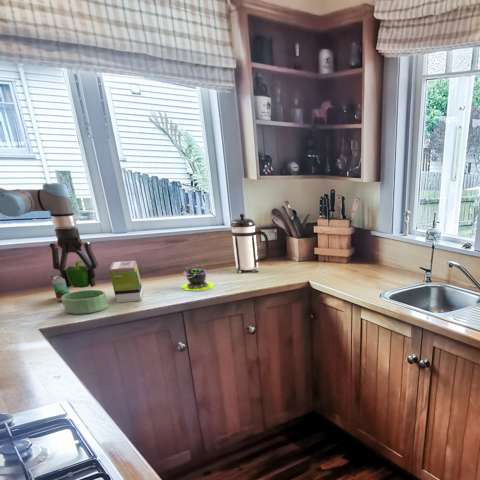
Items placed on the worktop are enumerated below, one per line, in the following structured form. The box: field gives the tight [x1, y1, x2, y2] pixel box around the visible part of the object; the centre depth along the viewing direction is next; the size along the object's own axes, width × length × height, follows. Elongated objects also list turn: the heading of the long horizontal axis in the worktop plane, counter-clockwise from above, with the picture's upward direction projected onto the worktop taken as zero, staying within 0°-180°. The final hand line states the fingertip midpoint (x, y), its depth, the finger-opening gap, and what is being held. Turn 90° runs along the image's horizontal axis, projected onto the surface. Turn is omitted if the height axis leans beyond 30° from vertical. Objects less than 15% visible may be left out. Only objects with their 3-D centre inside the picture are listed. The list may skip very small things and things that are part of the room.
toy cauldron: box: [180, 262, 215, 292], centre depth 222 cm, size 15×15×11 cm
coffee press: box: [227, 213, 270, 274], centre depth 251 cm, size 17×16×30 cm
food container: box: [50, 273, 70, 303], centre depth 201 cm, size 12×6×10 cm, turn 34°
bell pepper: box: [65, 260, 91, 289], centre depth 184 cm, size 8×8×10 cm
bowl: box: [61, 289, 109, 315], centre depth 189 cm, size 15×15×6 cm
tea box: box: [108, 260, 144, 304], centre depth 203 cm, size 15×10×15 cm
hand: (81, 286), depth 186 cm, fingers closed on bell pepper, 8 cm apart
